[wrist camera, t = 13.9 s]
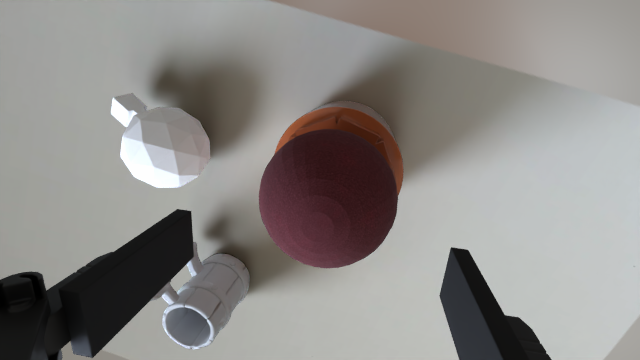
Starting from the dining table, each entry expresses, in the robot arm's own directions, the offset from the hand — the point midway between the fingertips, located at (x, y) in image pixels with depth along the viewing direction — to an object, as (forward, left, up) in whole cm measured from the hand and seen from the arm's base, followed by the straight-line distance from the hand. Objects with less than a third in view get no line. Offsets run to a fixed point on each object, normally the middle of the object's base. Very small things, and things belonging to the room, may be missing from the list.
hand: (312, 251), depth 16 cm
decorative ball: (0, 0, -13) cm, 13 cm away
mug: (+9, +22, -22) cm, 32 cm away
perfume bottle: (+19, +6, -22) cm, 30 cm away
